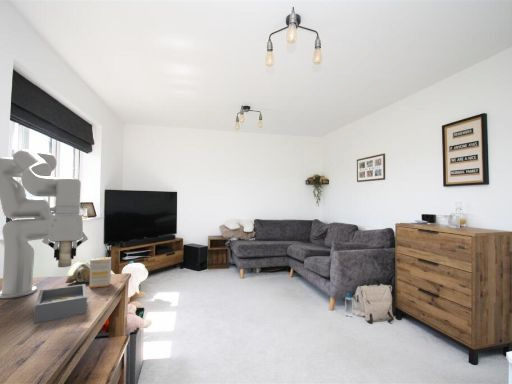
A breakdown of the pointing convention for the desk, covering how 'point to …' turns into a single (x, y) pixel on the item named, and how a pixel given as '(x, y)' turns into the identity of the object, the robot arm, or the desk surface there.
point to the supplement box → (100, 272)
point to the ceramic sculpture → (80, 274)
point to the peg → (65, 253)
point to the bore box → (60, 303)
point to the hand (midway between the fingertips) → (65, 258)
